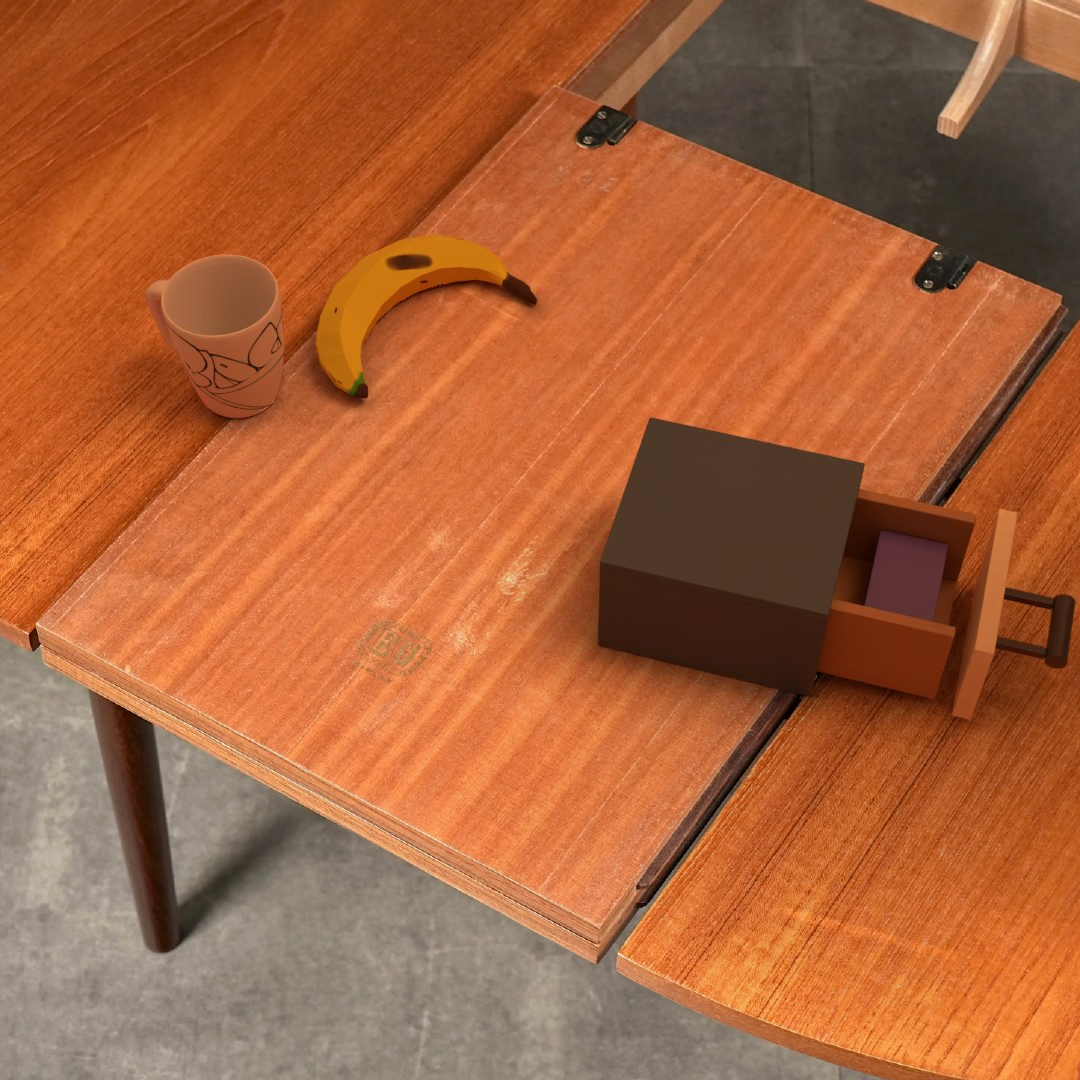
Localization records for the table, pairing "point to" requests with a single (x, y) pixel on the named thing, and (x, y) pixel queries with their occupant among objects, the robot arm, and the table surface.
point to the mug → (224, 331)
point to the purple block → (906, 575)
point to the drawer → (923, 646)
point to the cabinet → (727, 555)
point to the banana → (396, 295)
